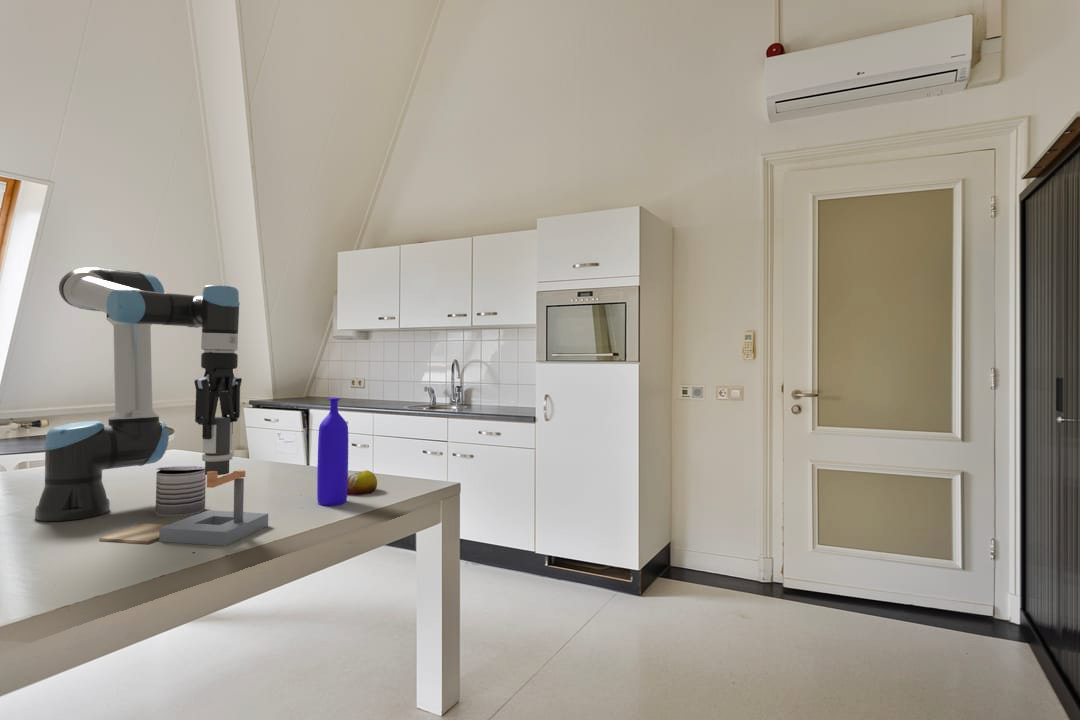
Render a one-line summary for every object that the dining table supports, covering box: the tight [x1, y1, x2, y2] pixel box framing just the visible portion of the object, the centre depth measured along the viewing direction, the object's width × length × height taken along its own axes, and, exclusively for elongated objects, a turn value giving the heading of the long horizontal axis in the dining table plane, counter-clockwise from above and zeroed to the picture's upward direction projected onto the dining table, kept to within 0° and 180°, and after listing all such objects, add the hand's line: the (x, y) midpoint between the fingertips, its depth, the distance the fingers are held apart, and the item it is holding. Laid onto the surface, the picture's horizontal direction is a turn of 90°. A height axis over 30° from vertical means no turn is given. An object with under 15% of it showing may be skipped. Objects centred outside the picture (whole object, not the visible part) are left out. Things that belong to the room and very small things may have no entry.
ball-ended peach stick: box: [206, 470, 246, 488], centre depth 133 cm, size 13×3×3 cm, turn 179°
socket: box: [158, 477, 269, 547], centre depth 139 cm, size 16×16×13 cm
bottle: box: [316, 397, 349, 507], centre depth 170 cm, size 8×8×30 cm
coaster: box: [98, 522, 167, 545], centre depth 137 cm, size 12×12×1 cm
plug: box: [201, 416, 233, 476], centre depth 139 cm, size 6×6×13 cm
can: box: [155, 465, 207, 518], centre depth 158 cm, size 11×11×12 cm
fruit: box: [347, 470, 378, 496], centre depth 185 cm, size 11×10×8 cm
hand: (217, 450), depth 139 cm, fingers closed on plug, 5 cm apart
